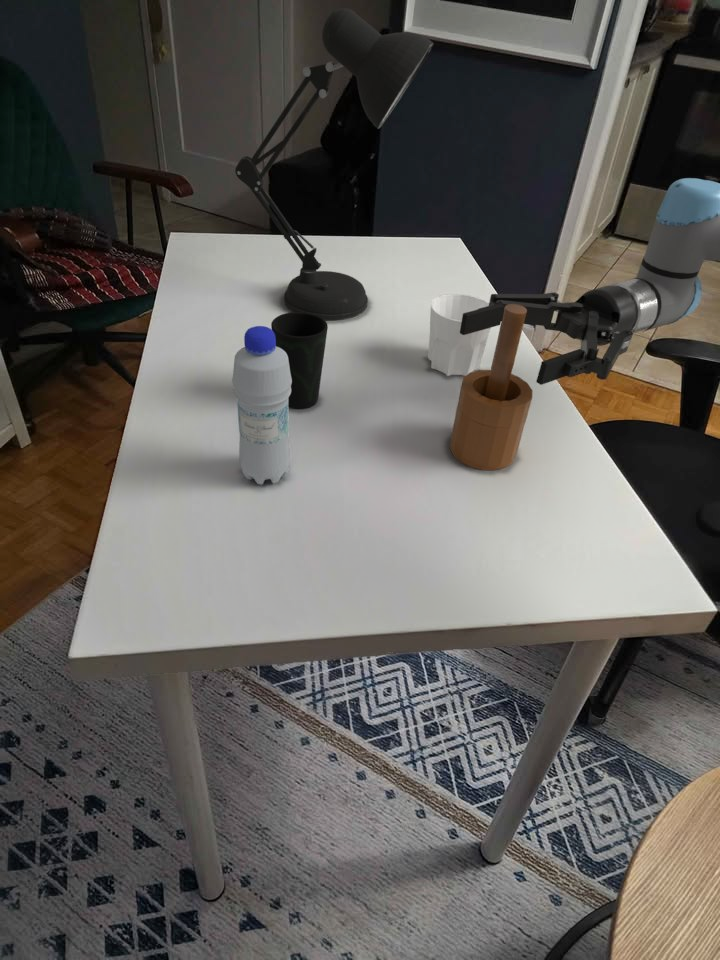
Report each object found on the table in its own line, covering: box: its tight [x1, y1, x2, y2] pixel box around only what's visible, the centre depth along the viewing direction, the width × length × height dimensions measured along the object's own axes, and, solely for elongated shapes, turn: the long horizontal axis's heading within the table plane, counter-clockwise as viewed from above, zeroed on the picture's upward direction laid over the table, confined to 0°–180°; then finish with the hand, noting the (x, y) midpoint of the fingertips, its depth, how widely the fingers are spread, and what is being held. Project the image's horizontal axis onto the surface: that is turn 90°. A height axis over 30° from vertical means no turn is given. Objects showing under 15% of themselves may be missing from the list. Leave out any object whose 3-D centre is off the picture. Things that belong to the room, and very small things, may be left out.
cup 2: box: [427, 293, 492, 377], centre depth 104 cm, size 10×10×10 cm
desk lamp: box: [234, 7, 434, 321], centre depth 107 cm, size 24×26×45 cm
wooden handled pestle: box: [482, 304, 527, 401], centre depth 82 cm, size 4×4×20 cm
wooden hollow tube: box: [449, 369, 533, 471], centre depth 86 cm, size 9×9×10 cm
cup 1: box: [270, 311, 329, 410], centre depth 92 cm, size 8×8×12 cm
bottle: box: [231, 325, 292, 485], centre depth 76 cm, size 7×7×20 cm
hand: (499, 347), depth 78 cm, fingers open, 13 cm apart
